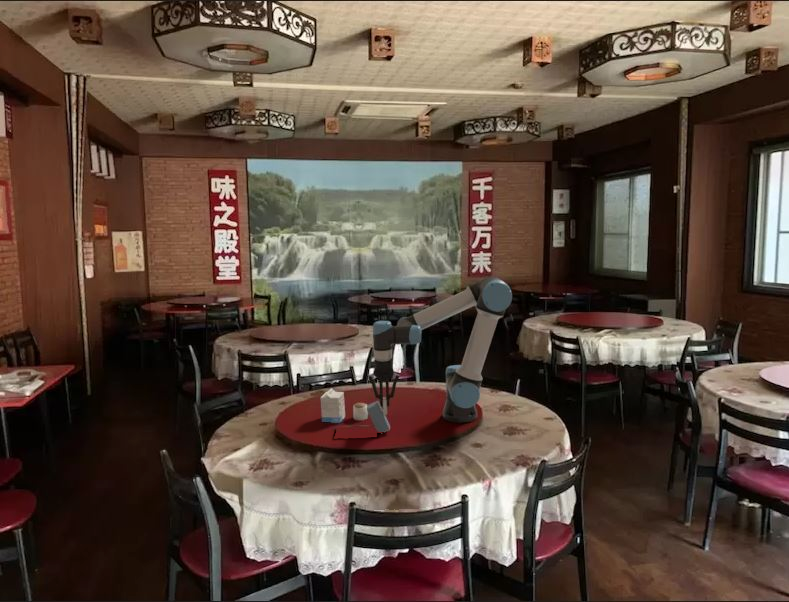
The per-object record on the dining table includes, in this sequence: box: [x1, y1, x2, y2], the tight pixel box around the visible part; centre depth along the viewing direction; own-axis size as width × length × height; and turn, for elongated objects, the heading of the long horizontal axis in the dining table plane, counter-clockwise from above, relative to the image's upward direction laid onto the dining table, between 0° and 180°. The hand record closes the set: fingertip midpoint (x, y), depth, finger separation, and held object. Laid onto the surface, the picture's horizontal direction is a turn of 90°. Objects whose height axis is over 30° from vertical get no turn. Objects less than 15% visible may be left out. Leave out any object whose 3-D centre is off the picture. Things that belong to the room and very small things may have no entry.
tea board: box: [335, 424, 374, 428], centre depth 247 cm, size 18×12×1 cm, turn 90°
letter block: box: [367, 400, 391, 433], centre depth 246 cm, size 5×5×12 cm
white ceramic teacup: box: [352, 402, 369, 421], centre depth 263 cm, size 6×6×6 cm
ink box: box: [320, 387, 346, 424], centre depth 262 cm, size 9×8×13 cm
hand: (385, 413), depth 246 cm, fingers closed
